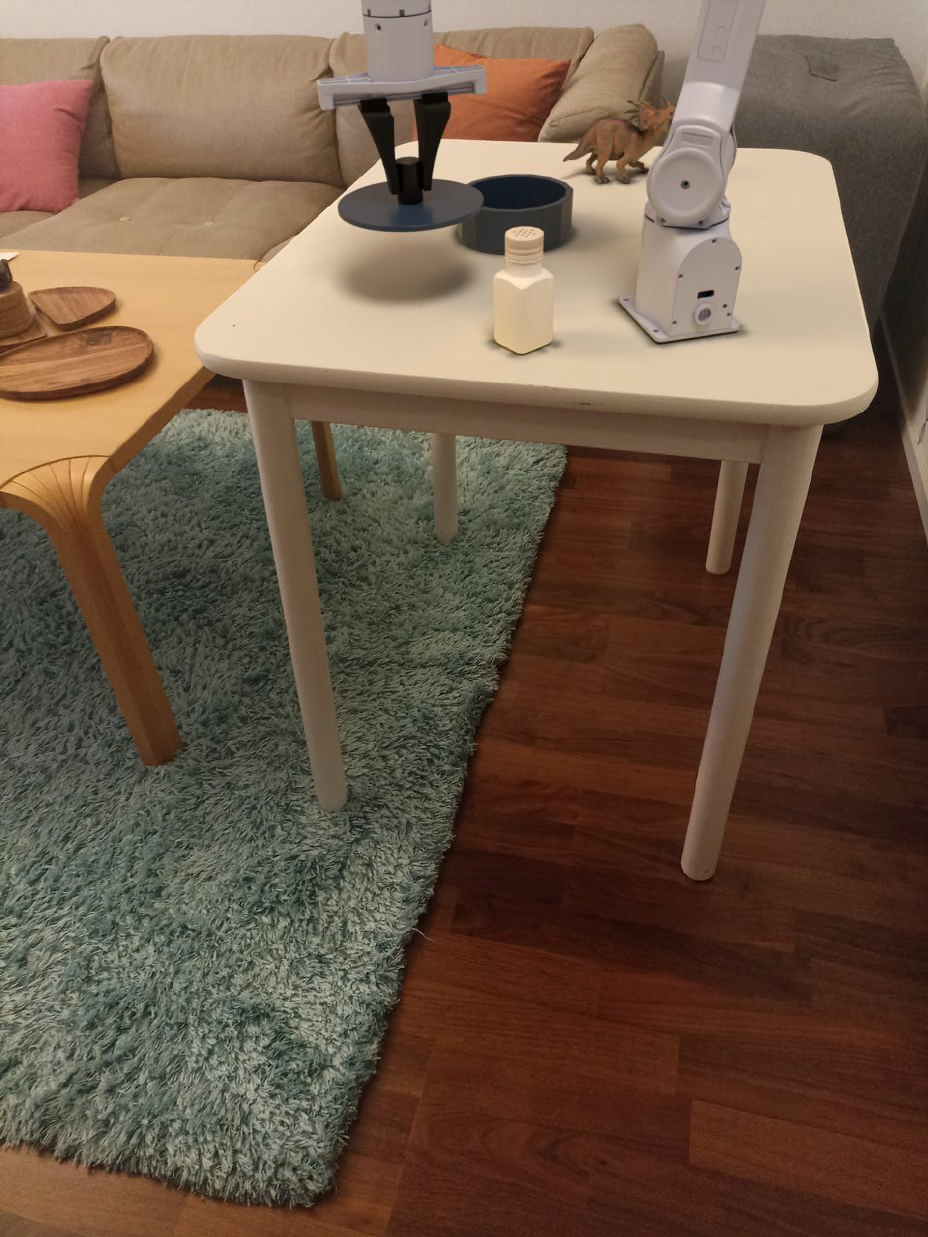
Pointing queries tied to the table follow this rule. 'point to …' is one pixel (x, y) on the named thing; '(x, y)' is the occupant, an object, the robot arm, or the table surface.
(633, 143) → the dinosaur figurine
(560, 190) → the pot
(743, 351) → the table surface
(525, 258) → the salt shaker
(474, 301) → the table surface
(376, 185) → the lid
